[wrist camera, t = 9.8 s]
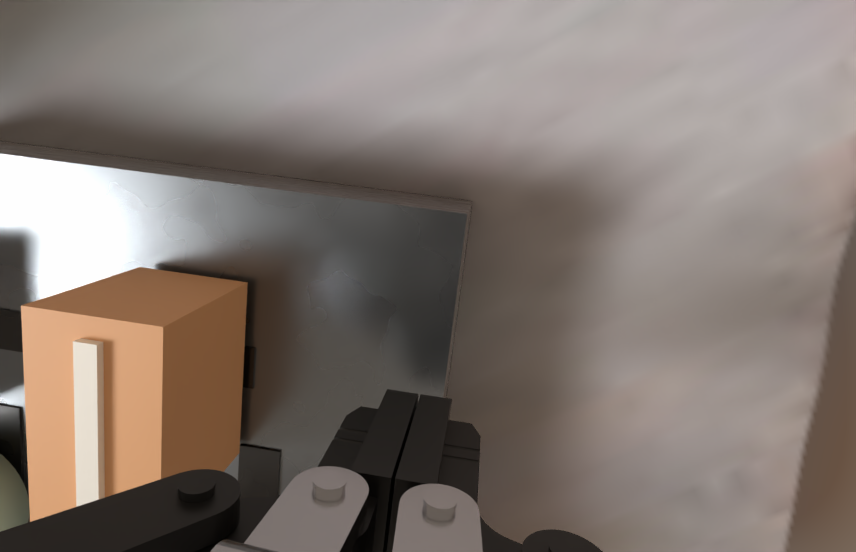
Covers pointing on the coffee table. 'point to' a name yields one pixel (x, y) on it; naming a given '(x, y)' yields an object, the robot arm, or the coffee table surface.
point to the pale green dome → (12, 497)
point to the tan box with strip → (130, 384)
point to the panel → (266, 291)
